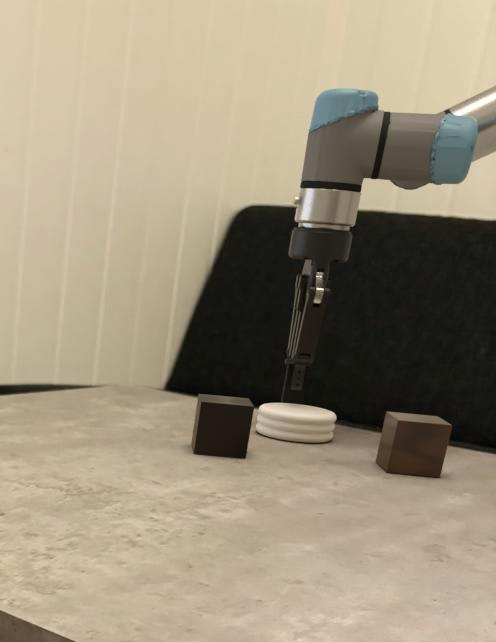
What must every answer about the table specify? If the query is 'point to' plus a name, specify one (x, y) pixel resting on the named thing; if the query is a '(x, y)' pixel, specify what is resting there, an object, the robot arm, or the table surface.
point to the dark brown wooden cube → (413, 444)
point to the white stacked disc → (296, 422)
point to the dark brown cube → (222, 426)
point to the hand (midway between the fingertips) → (289, 413)
